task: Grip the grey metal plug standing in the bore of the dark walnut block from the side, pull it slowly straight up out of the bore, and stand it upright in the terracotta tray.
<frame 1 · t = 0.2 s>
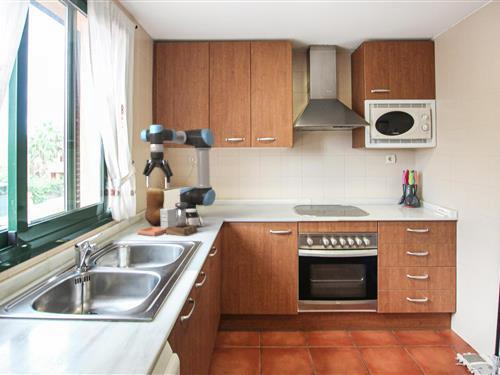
hand: (158, 187, 215), 27 cm above the worktop, tool pointing down, fingers open, 13 cm apart
spread jar: (194, 227, 235), on the worktop
metal plug: (181, 218, 215), in the bore block
butternut squash: (155, 225, 241), on the worktop
supplement box: (168, 228, 231), on the worktop
bore block: (181, 233, 216), on the worktop
tray: (153, 233, 215), on the worktop
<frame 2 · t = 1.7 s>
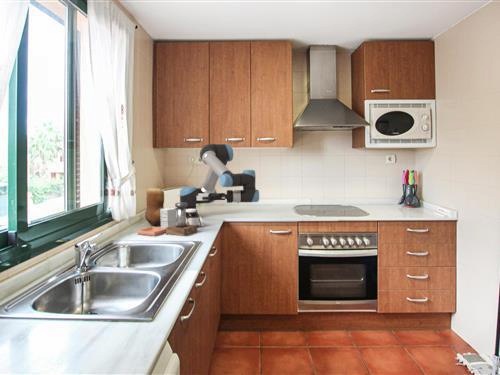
hand: (197, 196, 215), 22 cm above the worktop, tool horizontal, fingers open, 13 cm apart
nothing on the worktop moved.
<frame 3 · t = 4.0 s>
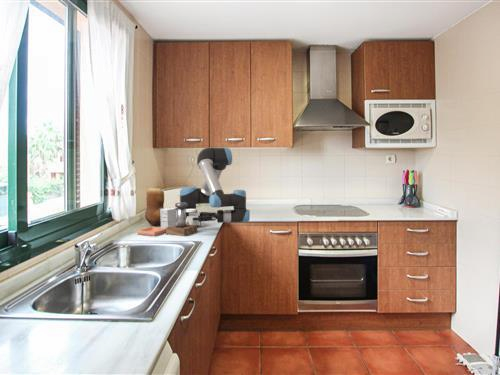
hand: (187, 216, 215), 10 cm above the worktop, tool horizontal, fingers open, 13 cm apart
nothing on the worktop moved.
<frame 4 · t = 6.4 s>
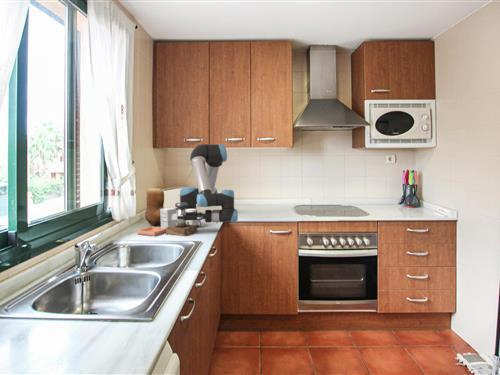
hand: (172, 216, 215), 10 cm above the worktop, tool horizontal, fingers closed on metal plug, 5 cm apart
metal plug: (181, 218, 215), in the bore block, touching gripper
everything else where it was.
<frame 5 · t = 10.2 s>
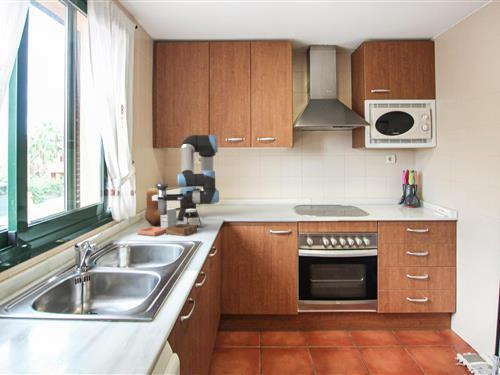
hand: (153, 197, 212), 22 cm above the worktop, tool horizontal, fingers closed on metal plug, 5 cm apart
metal plug: (162, 199, 213), point 21 cm above the worktop, touching gripper
everything else where it was.
when the fingers open (12 cm above the worktop, at t = 13.8 s): metal plug stays where it is, resting on tray.
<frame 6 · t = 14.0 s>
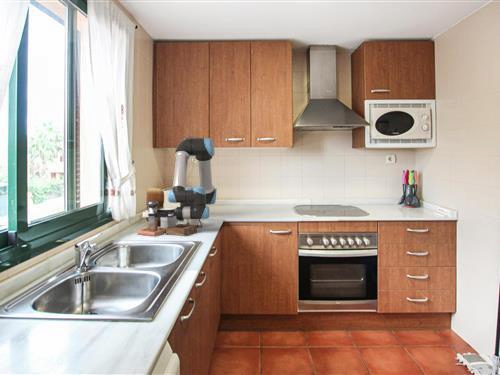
hand: (144, 213, 214), 12 cm above the worktop, tool horizontal, fingers open, 7 cm apart
metal plug: (152, 216, 215), in the tray, point 10 cm above the worktop
everything else where it was.
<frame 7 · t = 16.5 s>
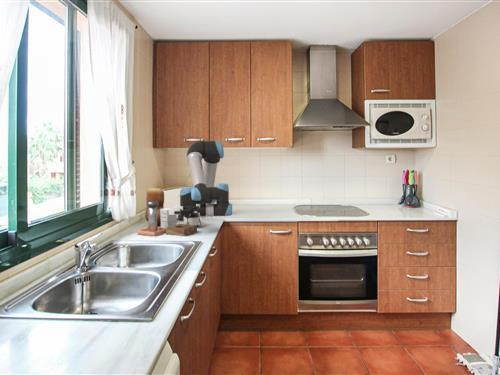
hand: (170, 210, 215), 14 cm above the worktop, tool horizontal, fingers open, 13 cm apart
nothing on the worktop moved.
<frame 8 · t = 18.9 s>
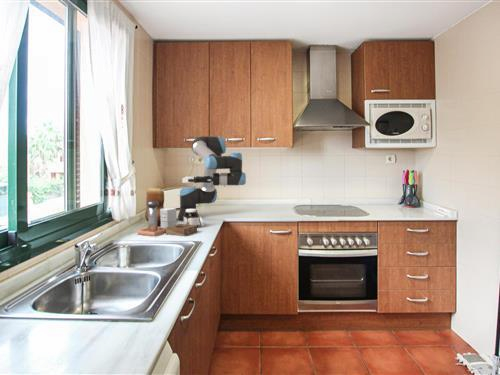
hand: (183, 179, 214), 32 cm above the worktop, tool horizontal, fingers open, 13 cm apart
nothing on the worktop moved.
at the end: metal plug inside the target area on the tray (0.1 cm from its centre), point 10.0 cm above the tray's base; metal plug tilted 0°; the gripper is holding nothing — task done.
